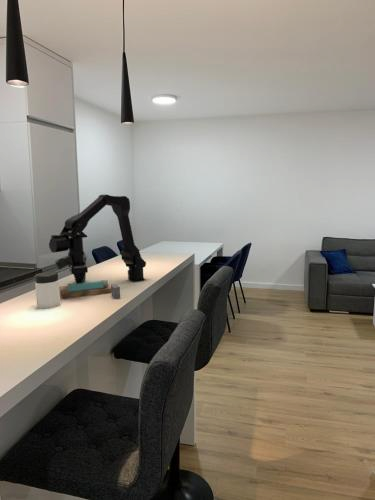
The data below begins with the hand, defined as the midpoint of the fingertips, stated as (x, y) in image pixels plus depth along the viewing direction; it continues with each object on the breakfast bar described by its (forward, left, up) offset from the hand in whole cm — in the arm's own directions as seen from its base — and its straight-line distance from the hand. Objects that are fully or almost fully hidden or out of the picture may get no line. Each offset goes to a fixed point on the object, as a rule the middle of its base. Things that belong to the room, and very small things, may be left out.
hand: (78, 286), depth 166 cm
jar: (+12, +12, -3) cm, 18 cm away
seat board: (-3, -2, -3) cm, 5 cm away
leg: (-4, +2, -1) cm, 4 cm away
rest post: (-13, +12, -3) cm, 18 cm away
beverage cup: (-3, -21, -3) cm, 21 cm away
